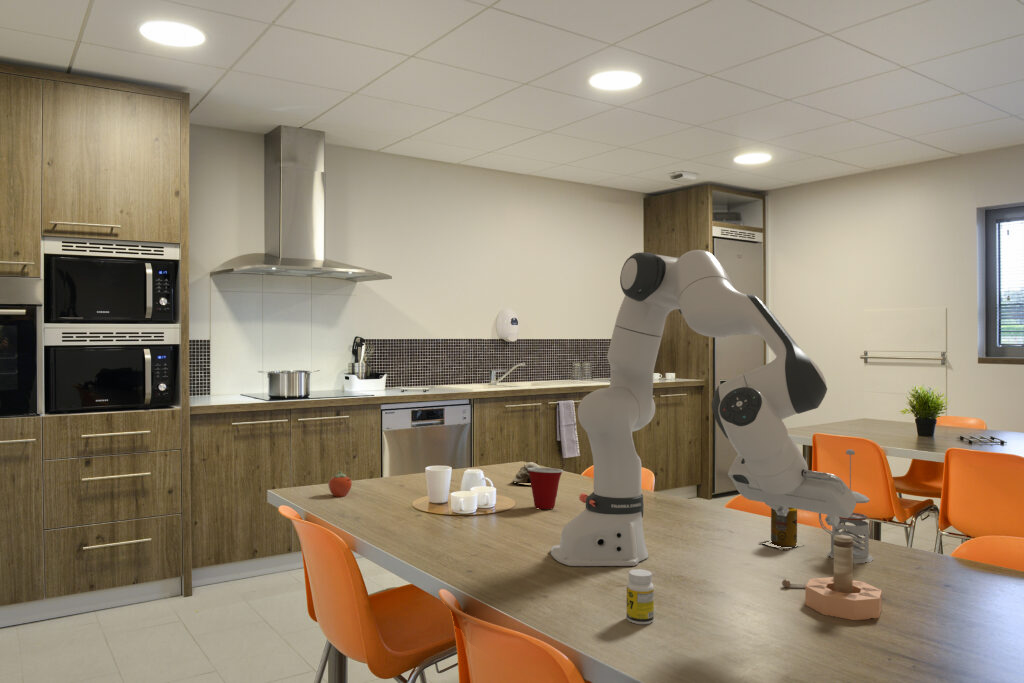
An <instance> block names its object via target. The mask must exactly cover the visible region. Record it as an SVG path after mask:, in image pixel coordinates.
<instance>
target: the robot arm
mask: <svg viewBox="0 0 1024 683" xmlns="http://www.w3.org/2000/svg"><path fill="white" fill-rule="evenodd" d="M619 276H620V277H619V281H620V283H619V284H620V288H621V291H622V292H623V294H624V297H623V300H622V301H621V304H620V307H619V310H618V313H617V317H616V320H615V323H614V327H613V330H612V335H611V339H610V344H609V348H608V351H607V356H606V357H607V360H608V361H607V362H608V364H609V368H610V380H609V381H610V383H609V386H608V387H603V388H602V387H601V388H598V389H596V390H594V391H591V392H590V393H588V394H587V395H585V396H584V397H582V399H581V400H580V402H579V403H578V404H579V405H578V407H577V418H578V422H579V425H580V426H581V427H582V428H583V430H584V431H585V432H586V435H587V437H588V441H589V442H588V443H589V445H590V451H591V454H592V461H593V462H592V463H593V492H592V493H590V494H589V495H588V494H586V492H585V493H584V492H582V493H580V495H579V497H578V500H580V502H582V503H583V504H585V509H583V511H581V512H580V513H579V514H578V515H576V516H575V517H574V518H573V519H571V520H570V521H569V522H567V524H565V525H564V526H563V528H562V530H561V534H560V535H561V536H560V539H559V540H560V541H559V544H556V545H552V547H551V548H550V556H551V557H552V559H554V560H556V561H557V562H558V563H561V564H563V565H565V566H569V567H631V566H632V567H634V566H636V565H638V564H639V562H641V561H644V560H646V559H647V558H649V552H648V550H647V549H648V548H647V546H646V545H647V544H646V541H645V540H646V539H645V533H644V527H643V526H644V525H643V518H644V509H645V508H644V506H645V505H644V503H645V502H644V494H643V493H642V460H641V457H640V456H639V454H638V453H637V451H636V450H637V449H636V447H635V442H634V438H633V433H634V432H636V431H639V430H641V429H643V428H644V427H646V426H647V425H648V424H650V423H651V421H652V420H653V419H654V416H655V413H656V403H655V400H654V398H653V391H654V372H655V367H656V362H657V358H658V354H659V351H660V346H661V342H662V338H663V334H664V331H665V325H666V320H667V317H668V315H669V314H670V313H671V312H673V311H674V310H678V312H679V313H680V314H681V316H682V317H683V319H684V320H685V322H686V324H687V326H688V327H689V328H690V329H691V331H694V332H695V333H696V334H699V335H702V336H705V337H708V338H726V337H731V336H739V335H756V336H759V337H760V338H762V340H764V342H765V343H766V345H767V346H768V347H769V349H770V350H771V352H772V353H773V354H774V356H776V357H775V358H774V359H773V360H772V361H770V362H769V363H766V364H764V365H761V366H759V367H757V368H755V369H752V370H750V371H748V372H746V373H742V374H739V375H738V376H735V377H733V378H730V379H728V380H726V381H725V382H722V383H721V384H719V385H718V386H717V387H716V390H715V391H714V394H713V398H712V401H711V410H712V413H713V416H714V419H715V421H716V423H717V425H718V427H719V429H720V430H721V432H722V434H723V435H724V437H725V438H726V439H727V440H729V442H730V444H731V446H732V447H733V448H734V450H735V452H736V453H737V455H736V456H735V458H734V460H733V462H732V464H731V465H730V468H729V470H728V472H727V476H728V477H729V479H730V480H731V481H732V482H733V485H734V486H735V488H736V490H737V491H738V493H739V495H740V496H742V497H743V498H745V499H747V500H748V501H752V502H753V501H755V502H759V503H764V504H765V505H766V506H768V507H769V508H770V509H771V508H772V509H774V510H775V511H776V513H777V514H778V515H781V516H787V513H788V512H789V508H788V507H790V508H795V509H797V510H801V511H807V512H811V513H817V514H819V513H821V515H826V516H825V519H824V521H825V523H826V524H827V526H831V527H832V526H835V527H837V526H838V524H839V521H840V518H839V517H842V518H848V517H850V516H851V514H852V513H853V512H854V511H855V509H856V506H857V503H856V502H857V500H856V498H855V496H854V495H853V493H852V492H851V490H852V489H851V490H850V487H848V485H847V484H846V483H845V482H844V481H843V479H841V478H840V477H839V476H837V475H835V474H833V473H829V472H822V471H814V470H809V466H808V462H807V461H806V459H805V457H804V456H803V454H802V453H801V451H800V449H799V447H798V445H797V444H796V442H795V441H794V440H793V439H792V438H791V437H790V436H789V433H788V429H787V427H786V424H785V423H784V421H783V420H785V419H787V418H789V417H791V416H793V415H796V414H802V413H806V412H810V411H812V410H816V409H818V408H819V407H820V405H821V404H822V402H823V401H824V399H825V398H826V397H825V396H826V395H827V392H828V387H827V381H826V378H825V376H824V374H823V372H822V370H821V368H820V367H819V366H818V364H817V363H816V362H815V361H814V360H813V359H812V358H811V357H810V356H809V355H807V354H806V353H805V352H804V351H803V350H802V349H801V347H800V346H799V345H798V344H797V343H796V341H795V340H794V339H793V337H792V336H791V335H790V334H789V332H788V331H787V330H786V328H785V327H784V326H783V325H782V324H781V322H780V321H779V320H778V318H777V317H776V316H775V315H774V313H773V312H772V311H771V310H770V309H769V308H768V306H766V304H765V303H764V302H763V301H762V300H761V299H760V298H759V297H757V296H756V295H754V294H749V293H747V294H745V293H742V292H740V291H738V290H737V289H735V287H734V284H733V283H732V280H731V277H729V275H728V273H727V271H726V270H725V268H724V267H723V265H722V264H721V263H720V261H719V259H718V258H716V256H715V255H714V254H712V253H711V252H709V251H707V250H703V249H693V250H689V251H687V252H685V253H684V254H682V255H681V256H678V257H677V256H674V257H673V256H669V255H668V256H667V255H662V254H655V253H652V252H647V251H646V252H645V251H644V252H643V251H642V252H636V253H633V254H631V255H630V256H629V257H628V258H626V260H625V261H624V264H623V266H622V267H621V271H620V275H619Z"/></svg>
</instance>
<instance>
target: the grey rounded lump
mask: <svg viewBox="0 0 1024 683" xmlns="http://www.w3.org/2000/svg"><path fill="white" fill-rule="evenodd" d="M533 467H541V466H540V465H538V464H537V463H535V462H533V461H531V462H529V461H528V462H527V463H525V464H523V466H521V467H520V470H518V472H517V473H516V474H515V476H514V478H513V479H512V481H513V482H516V483H531V479H530V475H529V471H528V469H527V468H533Z"/></svg>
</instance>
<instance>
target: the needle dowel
mask: <svg viewBox="0 0 1024 683" xmlns="http://www.w3.org/2000/svg"><path fill="white" fill-rule="evenodd" d="M853 542H854V541H853V538H852V537H850V536H845V535H835V536H834V559H833V577H834V591H835V592H841V593H847V594H852V593H853V575H854V574H853V571H854V570H853V569H854V567H853V566H854V563H853Z"/></svg>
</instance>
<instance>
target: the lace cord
mask: <svg viewBox="0 0 1024 683" xmlns="http://www.w3.org/2000/svg"><path fill="white" fill-rule="evenodd" d="M781 585H782V586H783V587H784V588H792V589H793V588H795V589H797V588H798V589H806V585H807V583H791V581H790V580H789V579H786V578H785V579H783V580H782V582H781Z"/></svg>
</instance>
